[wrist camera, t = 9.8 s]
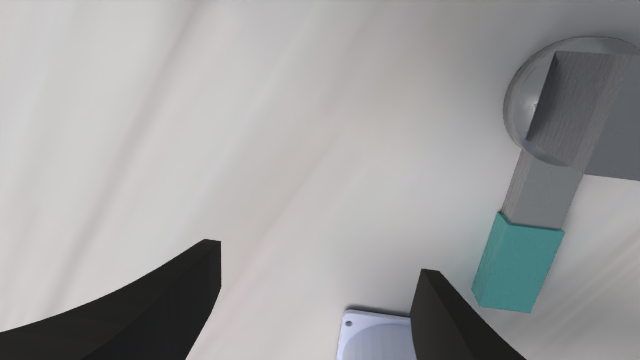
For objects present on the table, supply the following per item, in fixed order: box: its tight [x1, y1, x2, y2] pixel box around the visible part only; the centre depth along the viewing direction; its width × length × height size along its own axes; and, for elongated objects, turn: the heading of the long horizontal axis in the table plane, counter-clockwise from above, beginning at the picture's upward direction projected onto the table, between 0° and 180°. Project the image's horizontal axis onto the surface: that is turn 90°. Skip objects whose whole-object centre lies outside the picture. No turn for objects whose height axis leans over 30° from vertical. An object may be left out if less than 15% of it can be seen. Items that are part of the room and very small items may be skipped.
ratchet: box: [472, 37, 640, 313], centre depth 19 cm, size 16×6×4 cm, turn 174°
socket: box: [525, 50, 640, 181], centre depth 15 cm, size 4×4×5 cm
